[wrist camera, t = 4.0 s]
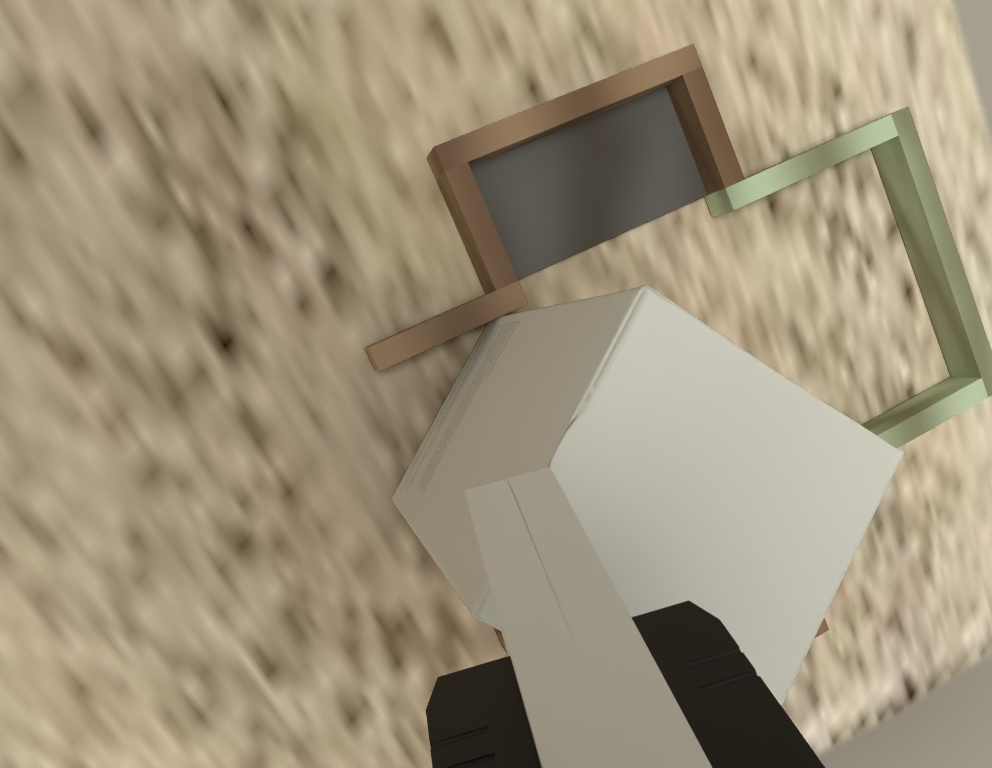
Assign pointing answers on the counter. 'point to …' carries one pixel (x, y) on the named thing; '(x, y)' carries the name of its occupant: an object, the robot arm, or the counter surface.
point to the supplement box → (657, 467)
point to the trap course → (668, 186)
